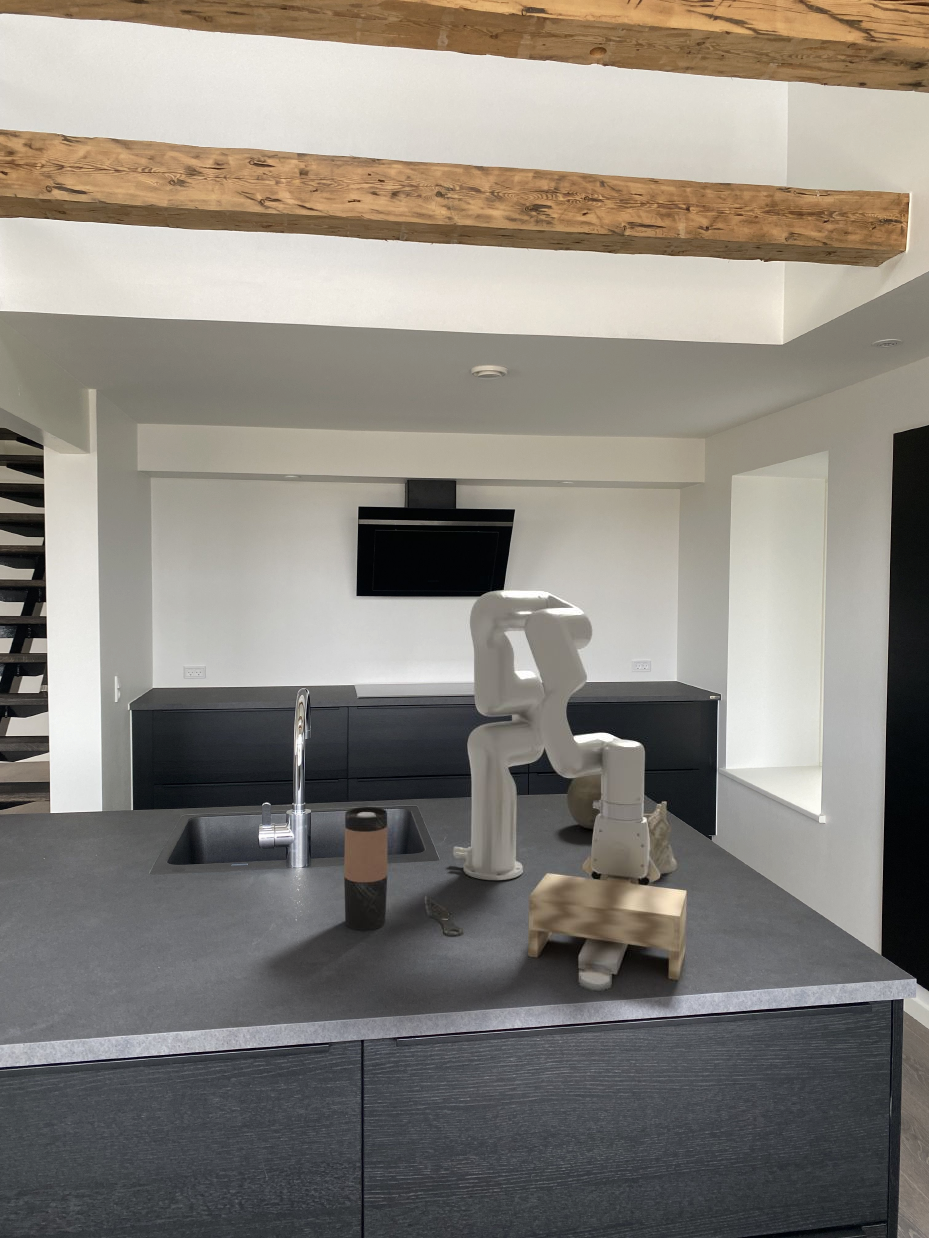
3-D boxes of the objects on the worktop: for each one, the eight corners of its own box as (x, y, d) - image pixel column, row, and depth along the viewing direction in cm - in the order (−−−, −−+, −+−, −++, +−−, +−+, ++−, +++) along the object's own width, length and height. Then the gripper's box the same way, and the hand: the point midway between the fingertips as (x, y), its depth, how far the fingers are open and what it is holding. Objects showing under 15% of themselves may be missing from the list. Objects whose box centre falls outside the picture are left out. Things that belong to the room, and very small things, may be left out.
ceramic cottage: (672, 852, 196) (670, 788, 195) (680, 879, 180) (677, 809, 179) (604, 853, 199) (601, 789, 198) (605, 879, 183) (601, 810, 182)
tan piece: (578, 968, 135) (579, 918, 134) (604, 913, 157) (605, 870, 157) (616, 974, 133) (617, 923, 132) (637, 917, 155) (638, 874, 155)
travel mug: (393, 917, 156) (394, 809, 155) (375, 933, 149) (376, 819, 148) (355, 912, 158) (356, 805, 158) (336, 927, 151) (337, 815, 150)
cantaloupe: (554, 828, 216) (555, 768, 215) (589, 818, 225) (590, 761, 225) (598, 840, 205) (599, 778, 205) (633, 829, 215) (635, 770, 214)
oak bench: (528, 956, 140) (528, 896, 140) (546, 928, 152) (547, 873, 151) (678, 980, 132) (679, 916, 132) (685, 949, 144) (686, 890, 144)
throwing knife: (444, 939, 148) (444, 935, 148) (414, 898, 167) (414, 895, 167) (468, 936, 149) (468, 932, 149) (435, 896, 168) (435, 893, 168)
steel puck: (576, 988, 130) (576, 975, 130) (581, 974, 134) (581, 961, 134) (609, 993, 128) (609, 980, 128) (613, 978, 133) (613, 966, 133)
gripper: (571, 810, 153) (569, 911, 154) (667, 820, 147) (664, 924, 148) (580, 800, 160) (578, 897, 161) (671, 809, 154) (669, 909, 155)
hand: (619, 909), depth 154 cm, fingers closed on tan piece, 4 cm apart
